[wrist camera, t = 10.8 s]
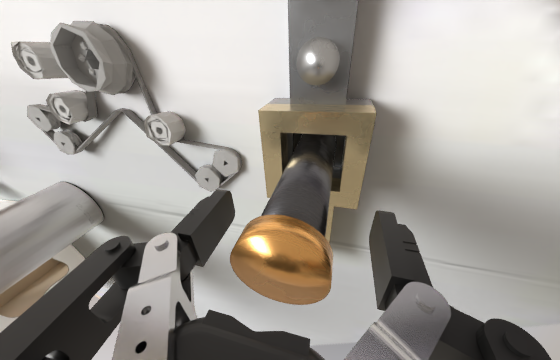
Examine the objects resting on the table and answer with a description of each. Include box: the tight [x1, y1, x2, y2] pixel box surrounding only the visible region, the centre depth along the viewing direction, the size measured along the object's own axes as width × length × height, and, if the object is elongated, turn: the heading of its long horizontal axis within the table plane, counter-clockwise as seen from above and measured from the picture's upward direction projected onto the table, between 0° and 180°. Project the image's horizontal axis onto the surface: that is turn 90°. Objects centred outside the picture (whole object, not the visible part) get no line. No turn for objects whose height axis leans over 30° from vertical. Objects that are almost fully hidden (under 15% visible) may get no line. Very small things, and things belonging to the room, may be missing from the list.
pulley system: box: [11, 21, 242, 192], centre depth 21 cm, size 27×5×15 cm
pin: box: [230, 134, 336, 305], centre depth 13 cm, size 4×4×13 cm
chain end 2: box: [258, 104, 377, 242], centre depth 19 cm, size 8×17×4 cm, turn 3°
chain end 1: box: [268, 0, 373, 179], centre depth 15 cm, size 8×17×3 cm, turn 3°
